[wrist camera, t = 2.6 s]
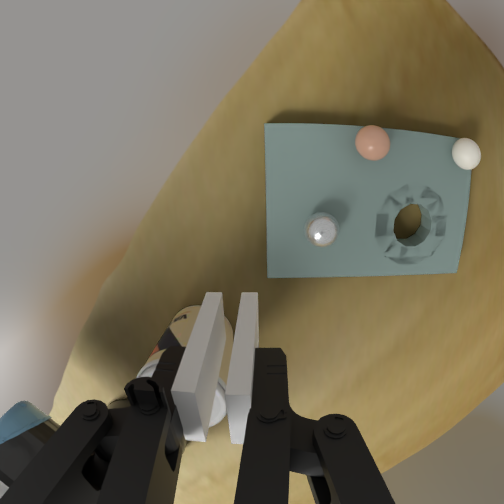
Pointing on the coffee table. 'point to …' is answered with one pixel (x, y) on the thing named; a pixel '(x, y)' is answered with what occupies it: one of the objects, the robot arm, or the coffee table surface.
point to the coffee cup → (180, 336)
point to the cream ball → (466, 153)
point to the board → (362, 202)
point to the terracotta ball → (372, 142)
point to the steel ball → (321, 229)
